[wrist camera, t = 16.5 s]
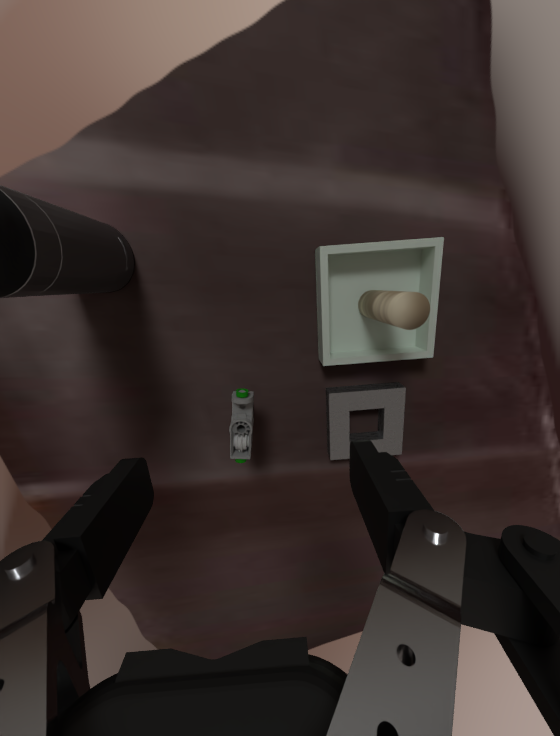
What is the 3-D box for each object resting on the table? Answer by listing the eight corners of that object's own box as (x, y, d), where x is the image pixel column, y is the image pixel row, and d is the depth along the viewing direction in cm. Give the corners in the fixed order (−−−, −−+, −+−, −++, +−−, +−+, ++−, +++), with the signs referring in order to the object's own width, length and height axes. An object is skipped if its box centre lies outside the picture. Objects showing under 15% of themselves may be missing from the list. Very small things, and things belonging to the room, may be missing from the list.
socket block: (327, 451, 49) (330, 460, 47) (325, 387, 46) (328, 393, 43) (395, 446, 49) (401, 454, 47) (398, 382, 46) (405, 387, 43)
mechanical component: (257, 370, 44) (253, 394, 35) (255, 427, 47) (251, 464, 38) (238, 369, 44) (229, 393, 35) (237, 427, 47) (229, 463, 38)
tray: (318, 358, 44) (323, 366, 40) (315, 250, 39) (319, 246, 36) (419, 351, 44) (433, 357, 40) (427, 241, 40) (443, 237, 36)
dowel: (358, 318, 42) (392, 331, 30) (357, 291, 41) (393, 293, 29) (384, 316, 42) (428, 328, 30) (384, 288, 41) (431, 290, 29)
